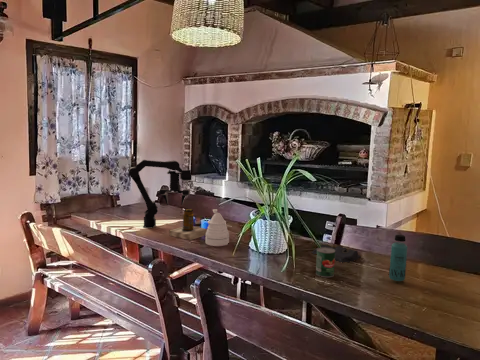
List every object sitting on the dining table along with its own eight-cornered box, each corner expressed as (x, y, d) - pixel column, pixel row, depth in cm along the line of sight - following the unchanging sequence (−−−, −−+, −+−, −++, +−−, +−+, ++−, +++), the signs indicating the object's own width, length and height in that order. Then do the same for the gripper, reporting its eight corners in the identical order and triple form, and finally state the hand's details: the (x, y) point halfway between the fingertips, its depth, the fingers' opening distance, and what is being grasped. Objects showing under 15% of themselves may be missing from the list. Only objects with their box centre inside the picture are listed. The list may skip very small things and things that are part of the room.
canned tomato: (321, 269, 187) (322, 246, 186) (337, 274, 182) (338, 249, 181) (312, 274, 181) (313, 250, 180) (328, 279, 176) (330, 253, 175)
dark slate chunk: (326, 248, 222) (326, 239, 222) (363, 258, 206) (363, 249, 206) (308, 254, 212) (308, 245, 211) (345, 265, 196) (346, 255, 195)
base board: (169, 235, 241) (169, 230, 240) (187, 230, 254) (187, 225, 253) (190, 240, 232) (190, 234, 231) (208, 234, 245) (208, 229, 245)
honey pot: (200, 242, 228) (200, 210, 225) (217, 238, 237) (217, 207, 235) (216, 247, 219) (217, 213, 217) (233, 242, 228) (234, 210, 226)
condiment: (193, 228, 247) (193, 208, 245) (195, 231, 239) (195, 211, 237) (181, 228, 245) (181, 208, 244) (182, 232, 237) (182, 211, 236)
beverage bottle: (385, 279, 177) (388, 233, 175) (400, 278, 178) (404, 233, 175) (392, 284, 171) (395, 237, 168) (408, 284, 172) (411, 237, 169)
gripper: (191, 179, 269) (191, 203, 271) (163, 178, 270) (163, 202, 272) (188, 181, 258) (188, 206, 260) (158, 181, 259) (159, 205, 261)
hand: (174, 205), depth 264 cm, fingers open, 9 cm apart
